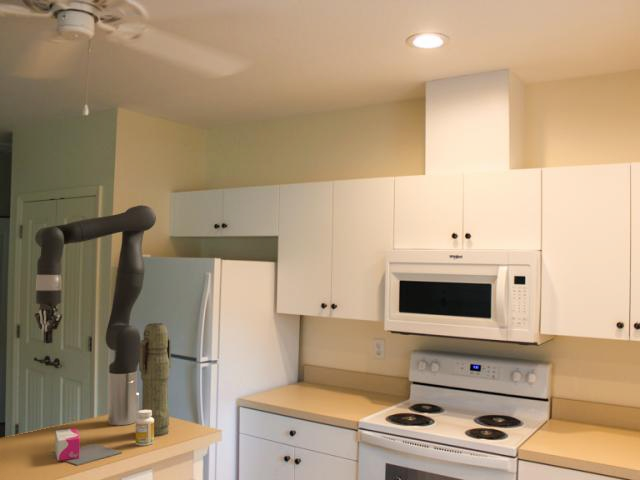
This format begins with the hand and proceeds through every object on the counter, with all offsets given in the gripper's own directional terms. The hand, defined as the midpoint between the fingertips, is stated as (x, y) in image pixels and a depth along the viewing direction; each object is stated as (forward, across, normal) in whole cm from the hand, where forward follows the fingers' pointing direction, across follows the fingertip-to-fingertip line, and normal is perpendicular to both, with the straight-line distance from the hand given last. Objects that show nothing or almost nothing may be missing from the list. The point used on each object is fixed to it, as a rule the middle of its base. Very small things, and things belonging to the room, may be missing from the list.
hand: (47, 343), depth 199 cm
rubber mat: (+29, -29, +4) cm, 41 cm away
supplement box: (+26, -20, +5) cm, 33 cm away
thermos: (+29, -26, -22) cm, 45 cm away
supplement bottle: (+29, -33, -13) cm, 46 cm away
